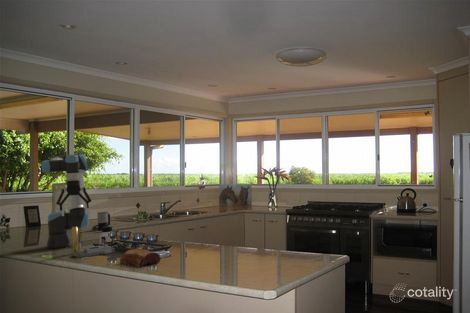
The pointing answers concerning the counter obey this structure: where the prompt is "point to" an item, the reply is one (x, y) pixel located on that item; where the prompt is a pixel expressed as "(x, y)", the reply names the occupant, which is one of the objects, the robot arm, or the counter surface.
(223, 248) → the counter surface
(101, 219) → the milk frother
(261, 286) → the counter surface
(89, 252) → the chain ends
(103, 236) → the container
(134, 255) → the cured meat
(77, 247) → the brass pin
